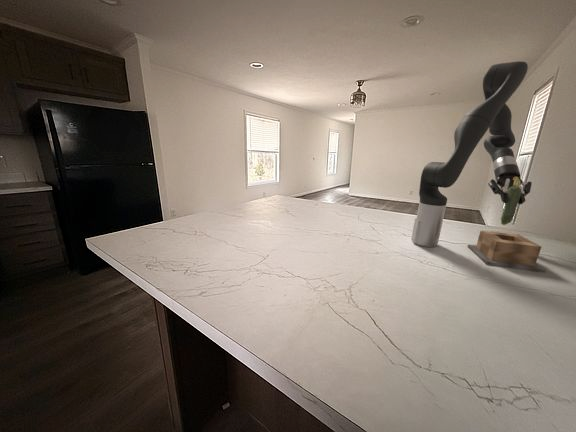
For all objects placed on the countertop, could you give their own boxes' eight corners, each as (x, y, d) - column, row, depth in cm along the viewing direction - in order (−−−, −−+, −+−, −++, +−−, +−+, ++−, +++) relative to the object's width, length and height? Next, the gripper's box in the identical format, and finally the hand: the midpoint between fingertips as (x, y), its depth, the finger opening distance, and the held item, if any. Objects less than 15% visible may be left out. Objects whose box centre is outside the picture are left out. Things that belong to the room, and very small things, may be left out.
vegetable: (513, 227, 92) (529, 177, 86) (501, 226, 93) (516, 177, 87) (505, 224, 96) (520, 176, 90) (494, 223, 97) (508, 175, 91)
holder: (486, 264, 79) (492, 242, 76) (467, 246, 93) (472, 228, 91) (545, 272, 74) (554, 250, 72) (516, 252, 89) (522, 233, 86)
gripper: (490, 162, 96) (497, 195, 89) (533, 164, 92) (544, 199, 84) (481, 174, 103) (487, 206, 95) (520, 176, 98) (530, 209, 91)
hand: (513, 202), depth 90 cm, fingers closed on vegetable, 4 cm apart
